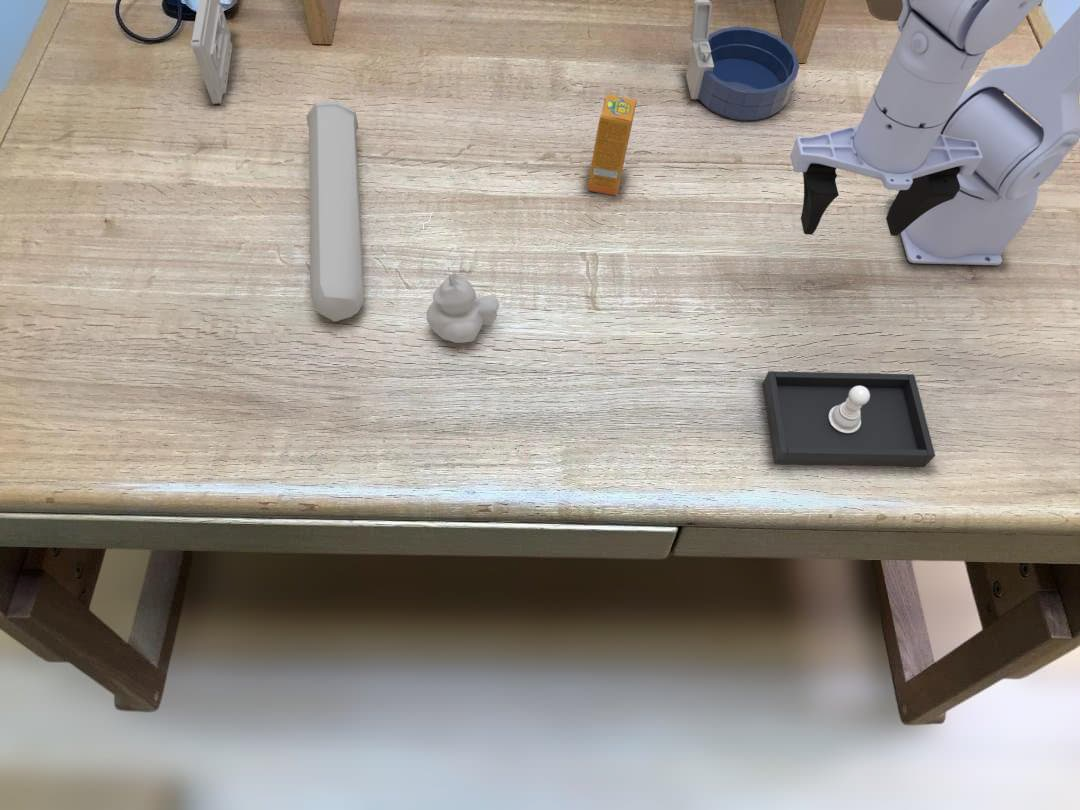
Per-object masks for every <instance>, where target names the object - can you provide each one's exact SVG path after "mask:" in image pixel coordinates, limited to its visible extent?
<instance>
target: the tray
mask: <svg viewBox="0 0 1080 810" xmlns="http://www.w3.org/2000/svg"><path fill="white" fill-rule="evenodd" d="M855 386H864V387H866V388H867V389H868V390H869V392H870V399H869V401H868V402H867V403H866V404H864V405H862V407H861V409H860V412H861V413H860V414H861V425H860V427H859V429H858V430H857V431H855V432H853V433H843V432H840V431H838V430H836V429H835V428H834V427H833V426H832V425H831V423H830V421H829V412H830V410H831V409H832V408H833V407H835V406H837V405H840V404H842V403H844V402H846V399H847V398H848V394H849V391H850V390H851V389H852V388H853V387H855ZM762 389H763V396H764V403H765V409H766V416H767V421H768V428H769V435H770V442H771V447H772V448H771V449H772V454H773V455H772V456H773V463H774V464H775V465H819V466H821V465H825V466H833V465H834V466H873V467H874V466H876V467H877V466H878V467H879V466H880V467H926V466H927V465H928V464H929V463H930V462H931V461H932V460H933V459H935V457H936V454H935V450H934V446H933V445H934V444H933V443H932V437H931V434H930V430H929V426H928V423H927V418H926V415H925V411H924V407H923V403H922V399H921V395H920V391H919V387H918V383H917V379H916V375H915V374H912V373H908V374H907V373H872V372H871V373H869V372H867V373H866V372H827V371H826V372H825V371H824V372H823V371H821V372H818V371H778V370H776V371H774V370H771V371H770V370H768V371H767V373H766V376H765V377H764V380H763V381H762Z"/></svg>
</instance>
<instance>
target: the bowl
mask: <svg viewBox="0 0 1080 810" xmlns="http://www.w3.org/2000/svg"><path fill="white" fill-rule="evenodd" d="M708 42H709V45H710V49H711V56H712V60H713V64H714V69H713V73H711V72H710V71H704V74H703V79H702V83H701V87H700V91H699V95H698V98H699V99H698V100H699V101H700V102H701V104H703V106H705V108H707V109H708V110H710V111H711V112H712V113H715V114H717V115H719V116H721V117H724V118H727V119H731V120H736V121H746V122H747V121H750V122H751V121H758V120H759V121H760V120H763V119H766V118H769V117H771V116H773V115H775V114H776V113H779V112H780V111H781V110H782V109H783V108H784V107H785V106H786V104H788V102H789V100H790V97H791V94H792V91H793V88H794V85H795V82H796V79H797V76H798V73H799V69H800V63H799V58H798V55H797V53H796V51H795V50H794V49H793V48H792V46H791V45H790V44H789V43H788V42H786V41H785V40H784V39H783V38H781V37H780V36H778V35H776V34H775V33H772V32H769V31H768V30H765V29H761V28H756V27H752V26H737V25H736V26H729V27H724V28H720V29H718V30H716V31H713V32H711V33H709V38H708Z"/></svg>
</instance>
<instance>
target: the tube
mask: <svg viewBox="0 0 1080 810" xmlns="http://www.w3.org/2000/svg"><path fill="white" fill-rule="evenodd" d="M305 117H306V123H307V127H308V153H309V154H308V167H309V168H308V173H309V174H308V177H309V178H308V179H309V180H308V181H309V186H308V187H309V272H310V273H309V274H310V275H309V276H310V278H309V279H310V281H309V284H310V285H309V286H310V291H309V292H310V299H311V302H312V305H313V308H314V309H315V311H317V312H318V313H319V315H321V316H323V317H325V318H327V319H329V320H331V321H332V322H335V323H336V322H338V321H343V320H345V319H349V318H352V317H353V316H355V315H356V314H358V313H359V312H360V310H361V309H362V307H363V305H364V303H365V287H364V267H363V266H364V265H363V264H364V263H363V249H362V248H363V243H362V225H361V223H362V222H361V203H360V202H361V200H360V184H359V183H360V182H359V181H360V180H359V162H358V161H359V158H358V157H359V156H358V138H357V131H358V130H359V122H358V121H359V120H358V116H357V111H356V109H355V108H352V107H351V106H349V105H346V104H344V103H342V102H340V101H338V100H328V101H315V103H314V104H313V105H312V107H311V109H310V110H309V111H308V113H307V114H306V116H305Z"/></svg>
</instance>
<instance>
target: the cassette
mask: <svg viewBox="0 0 1080 810" xmlns="http://www.w3.org/2000/svg"><path fill="white" fill-rule="evenodd" d="M231 37H232V35H231V32H230V27H229V24H228V22H227V18H226V15H225V12H224V9H223V6H222V2H221V0H198V3H197V9H196V14H195V20H194V26H193V31H192V36H191V42H190V45H191V49H192V51H193V54H194V57H195V59H196V62H197V65H198V68H199V70H200V73H201V76H202V79H203V82H204V84H205V87H206V90H207V92H208V95H209V98H210V101H211V103H212V104H213V105H214V104H218V105H219V104H222V100H223V95H224V94H226V93H227V87H228V82H229V81H228V80H229V74H230V67H231V59H232V52H233V44H232V42H231Z"/></svg>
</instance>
